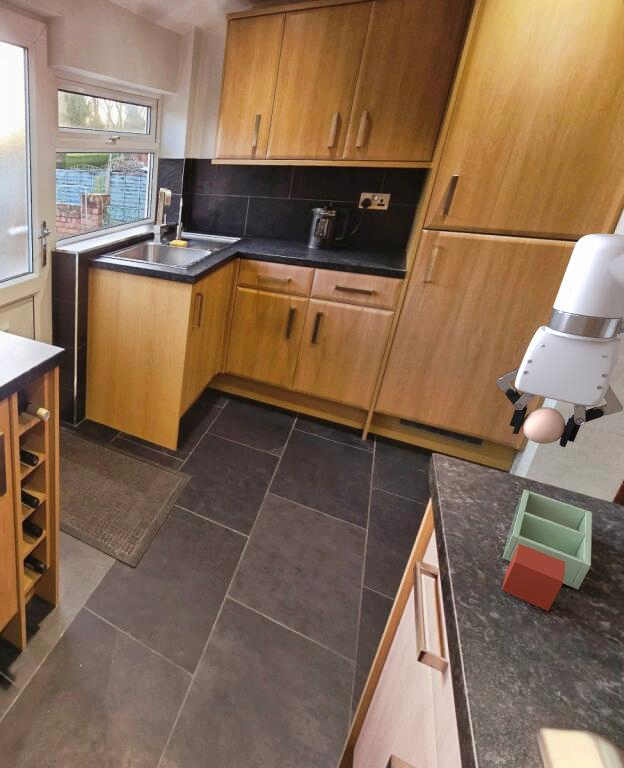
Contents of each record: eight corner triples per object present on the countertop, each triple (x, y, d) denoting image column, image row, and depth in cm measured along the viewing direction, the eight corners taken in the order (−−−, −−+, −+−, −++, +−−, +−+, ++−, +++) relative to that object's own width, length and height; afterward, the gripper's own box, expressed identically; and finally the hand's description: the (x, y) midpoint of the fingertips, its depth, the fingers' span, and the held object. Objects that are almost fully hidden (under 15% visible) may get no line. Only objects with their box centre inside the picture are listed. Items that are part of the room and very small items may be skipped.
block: (551, 590, 62) (565, 561, 60) (548, 611, 59) (563, 582, 57) (506, 571, 65) (518, 543, 63) (501, 590, 62) (514, 561, 60)
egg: (520, 429, 81) (534, 397, 78) (560, 442, 78) (576, 409, 75) (512, 440, 78) (526, 407, 75) (552, 454, 75) (569, 420, 72)
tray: (581, 533, 73) (592, 512, 71) (578, 589, 62) (591, 565, 61) (515, 509, 78) (524, 489, 76) (502, 558, 67) (512, 535, 66)
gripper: (665, 331, 68) (612, 447, 75) (511, 310, 78) (477, 413, 85) (670, 343, 63) (613, 466, 69) (505, 318, 73) (469, 427, 80)
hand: (539, 436), depth 77 cm, fingers closed on egg, 5 cm apart
